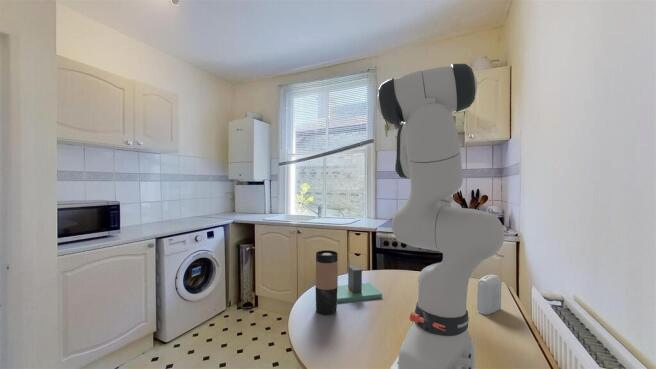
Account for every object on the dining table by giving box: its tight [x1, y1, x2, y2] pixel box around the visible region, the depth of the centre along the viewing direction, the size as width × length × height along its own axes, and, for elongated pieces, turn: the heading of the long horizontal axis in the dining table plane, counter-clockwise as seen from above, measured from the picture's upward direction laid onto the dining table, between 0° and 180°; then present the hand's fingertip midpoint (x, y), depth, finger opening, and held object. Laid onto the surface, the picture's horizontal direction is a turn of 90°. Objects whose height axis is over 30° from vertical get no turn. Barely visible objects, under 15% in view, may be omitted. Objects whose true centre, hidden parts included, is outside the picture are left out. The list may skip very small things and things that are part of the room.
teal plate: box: [337, 282, 383, 304], centre depth 112 cm, size 12×18×6 cm, turn 105°
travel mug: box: [315, 249, 339, 316], centre depth 98 cm, size 8×8×20 cm
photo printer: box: [476, 274, 503, 316], centre depth 99 cm, size 10×4×12 cm, turn 123°
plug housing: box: [347, 264, 363, 294], centre depth 112 cm, size 6×3×9 cm, turn 15°
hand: (421, 229), depth 106 cm, fingers open, 8 cm apart
